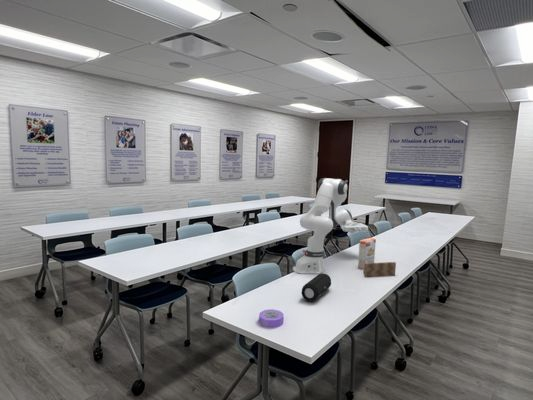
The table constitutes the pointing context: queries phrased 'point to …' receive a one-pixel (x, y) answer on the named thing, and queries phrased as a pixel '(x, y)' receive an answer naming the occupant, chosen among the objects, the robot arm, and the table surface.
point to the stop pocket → (379, 269)
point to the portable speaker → (316, 287)
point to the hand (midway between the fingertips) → (359, 230)
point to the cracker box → (366, 252)
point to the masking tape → (271, 318)
